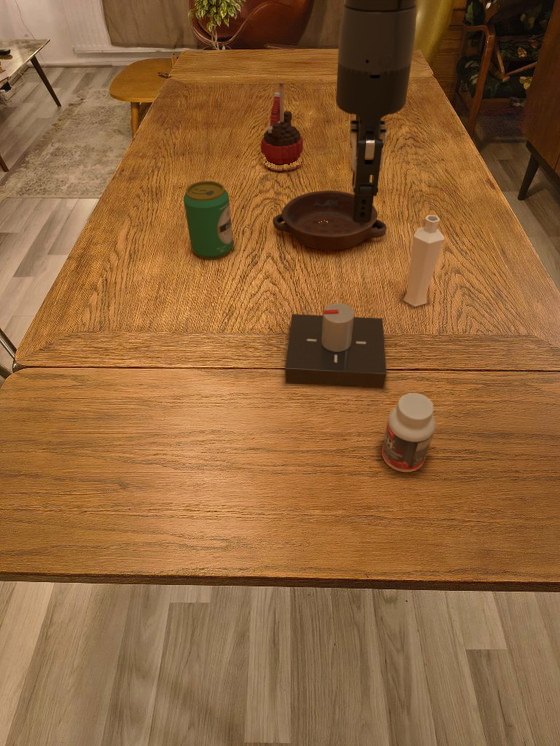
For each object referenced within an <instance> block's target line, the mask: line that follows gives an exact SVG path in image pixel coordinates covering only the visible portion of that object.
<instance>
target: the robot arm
mask: <svg viewBox="0 0 560 746" xmlns="http://www.w3.org/2000/svg"><path fill="white" fill-rule="evenodd" d="M417 4H418V0H343V5H342V14H341V19H340V24H339V25H340V26H339V33H338V34H339V35H338V49H337V50H338V51H337V71H336V72H337V73H336V90H335V91H336V93H335V101H336V103H335V104H336V106H337V107H338V108H339V110H341V112H344V113H346V114H348V115H355V119H350V122H349V136H350V137H349V145H350V149H351V155H350V156H351V157H350V171H351V172H352V179H351V180H352V181H351V187H352V193H353V194H354V203H353V215H352V219H353V221H354V222H356V223H368V222H370V221H371V216H372V207H373V206H374V198H375V197H377V196H378V194H379V180H380V179H379V178H380V172H381V170H382V168H383V157H384V146H385V144H386V141H387V128H386V119H383V118H384V117H386V116H389V115H390V116H391V115H394V114H397V113H398V112H400V111H401V110H402V109H404V107H405V105H406V104H407V103H406V102H407V96H408V89H409V82H410V74H411V68H412V60H413V54H414V53H413V51H414V46H415V39H416V30H417V29H416V28H417V27H416V26H417V7H418V6H417ZM370 181H371V182H370Z"/></svg>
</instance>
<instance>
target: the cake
mask: <svg viewBox="0 0 560 746" xmlns="http://www.w3.org/2000/svg"><path fill="white" fill-rule="evenodd" d="M278 86H279V87H278V88H279V92H277V91H276V92H275V93H274V95H273V101H272V105H271V112H270V119H269V125H268V128H267V130H266V131H265V132H264V133H263V137H262V138H261V141H260V153H262V154H263V156H264V157H266V159H267V161H268V162H270V163H273V164H275V165H284V164H288V165H290V163H293V162H295V161H297V160H298V158H299V157H301V154H302V153H303V152H304V139H303V136H301V132H300V130H298V129H297V127H295V126H293V125H292V120H293V113H292V111H290V110H285V111H284V109H285V108H284V107H285V106H284V105H285V104H284V103H285V102H284V100H285V98H284V97H285V96H284V82H282V81H280V82H279V85H278ZM301 159H303V157H302V158H301ZM267 161H265V163H267ZM303 162H304V160H303V161H302V163H301V164H300V165H296V167H292V168H288V169H283V168H282V170H281V169H274V168H271V167H272V166H271V167H268V166H266V165H265V163H263V161H262V165H264V167H266V169H270V170H273V171H280V172H282V171H289V170H290V171H291V170H294V169H295V170H296V168H297V167H299V168H300V167H301V166H302V164H303ZM267 165H268V164H267ZM270 165H271V164H270Z"/></svg>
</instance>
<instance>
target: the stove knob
mask: <svg viewBox="0 0 560 746" xmlns="http://www.w3.org/2000/svg"><path fill="white" fill-rule="evenodd" d="M322 315H323V318H322V336H321V343H322V345H323V346H324V347H325V348H326V349H327V350H330V351H333V352H341V351H344V350H347V349H348V348H349V347H350V345H351V341H352V332H353V323H354V317H355V310H354V308H353V307H352V306H350V305H349V304H347V303H343V302H332V303H329V304H327V305H326V306H325V307H324V308H323V310H322Z"/></svg>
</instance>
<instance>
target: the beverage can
mask: <svg viewBox="0 0 560 746" xmlns="http://www.w3.org/2000/svg"><path fill="white" fill-rule="evenodd" d="M229 196H230V195H229V193H228V190H226V189H225V185H224V184H222V183H221V182H218V181H213V180H201V181H196V182H194V183H192V184H189V185H188V186H187V187H186V189H185V193H184V195H183V198H182V199H183V204H184V210H185V218H186V224H187V230H188V236H189V241H190V247H191V250H192V252H194V254H195V255H196V256H197V257H199V258H201V259H203V260H218V259H222V258H224V257H226V256H227V255H229V254H230V253H231V251H232V248H233V246H234V239H233V238H234V237H233V228H232V217H231V207H230V197H229Z"/></svg>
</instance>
